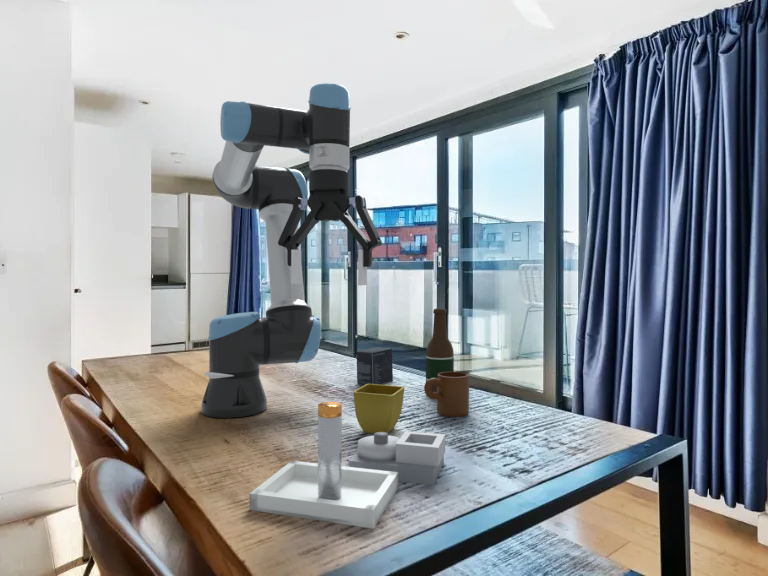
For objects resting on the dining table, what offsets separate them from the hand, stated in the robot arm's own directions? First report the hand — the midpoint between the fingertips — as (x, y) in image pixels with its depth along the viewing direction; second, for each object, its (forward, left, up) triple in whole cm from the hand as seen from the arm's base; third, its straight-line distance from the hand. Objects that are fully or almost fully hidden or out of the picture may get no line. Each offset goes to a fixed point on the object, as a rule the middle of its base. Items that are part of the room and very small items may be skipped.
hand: (328, 284), depth 95 cm
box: (-9, +59, -31) cm, 67 cm away
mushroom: (-33, +16, -31) cm, 48 cm away
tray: (+8, -21, -31) cm, 38 cm away
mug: (+18, +29, -31) cm, 46 cm away
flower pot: (+6, +13, -31) cm, 34 cm away
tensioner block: (+15, -7, -31) cm, 35 cm away
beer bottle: (+13, +48, -31) cm, 59 cm away
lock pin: (+9, -21, -31) cm, 38 cm away
